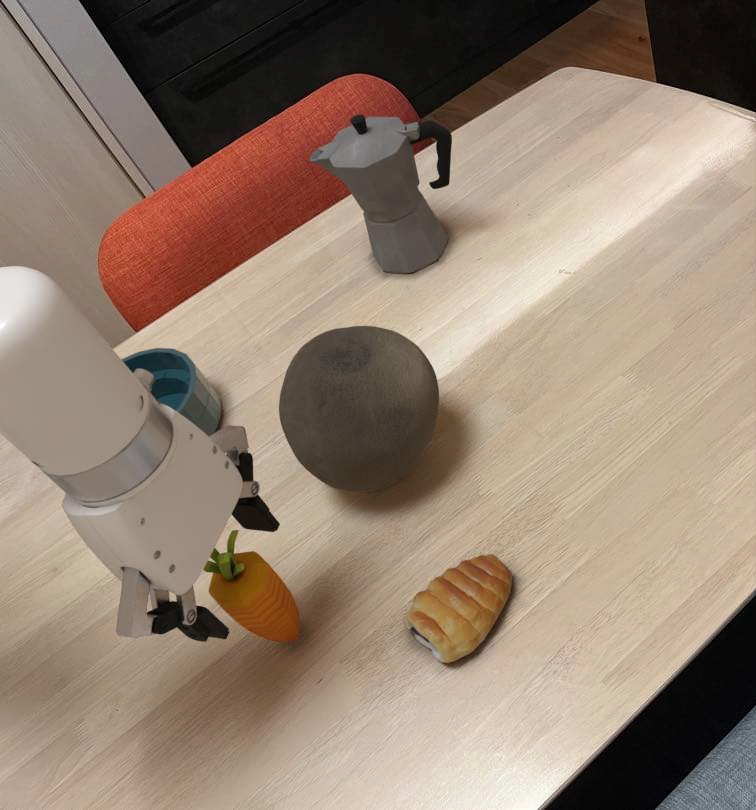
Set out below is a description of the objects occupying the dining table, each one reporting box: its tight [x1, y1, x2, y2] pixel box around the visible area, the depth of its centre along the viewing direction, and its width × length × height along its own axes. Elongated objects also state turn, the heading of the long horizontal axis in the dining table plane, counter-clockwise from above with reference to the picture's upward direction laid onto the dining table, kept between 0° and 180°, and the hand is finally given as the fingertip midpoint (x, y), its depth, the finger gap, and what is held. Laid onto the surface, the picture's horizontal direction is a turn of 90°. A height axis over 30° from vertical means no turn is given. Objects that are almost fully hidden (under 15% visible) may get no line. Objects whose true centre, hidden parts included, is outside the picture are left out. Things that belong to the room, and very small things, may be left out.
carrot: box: [203, 529, 301, 643], centre depth 72 cm, size 5×5×15 cm
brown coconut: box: [278, 325, 440, 493], centre depth 82 cm, size 14×14×15 cm
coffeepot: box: [309, 113, 453, 275], centre depth 101 cm, size 15×9×18 cm, turn 94°
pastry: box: [402, 553, 513, 664], centre depth 74 cm, size 9×7×4 cm
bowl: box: [120, 347, 222, 437], centre depth 95 cm, size 13×13×6 cm
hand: (237, 577), depth 69 cm, fingers open, 8 cm apart
